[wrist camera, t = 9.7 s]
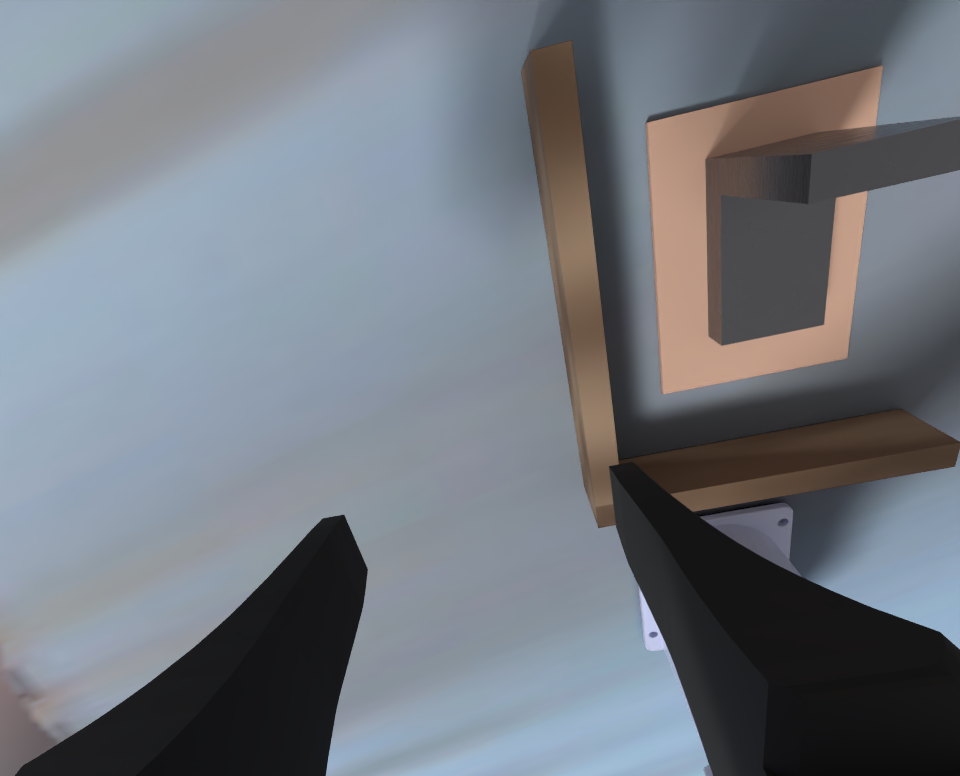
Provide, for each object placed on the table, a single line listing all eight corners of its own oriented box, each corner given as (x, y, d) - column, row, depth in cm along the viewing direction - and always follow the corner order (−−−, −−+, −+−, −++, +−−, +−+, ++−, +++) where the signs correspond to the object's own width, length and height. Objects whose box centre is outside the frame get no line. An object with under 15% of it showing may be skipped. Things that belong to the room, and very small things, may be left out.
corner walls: (896, 430, 22) (954, 466, 20) (584, 486, 24) (598, 528, 21) (984, -49, 15) (1098, -98, 12) (520, 70, 16) (530, 50, 13)
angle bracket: (705, 158, 17) (811, 154, 12) (818, 131, 17) (982, 114, 11) (708, 336, 20) (795, 398, 15) (804, 316, 20) (930, 372, 14)
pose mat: (843, 356, 21) (846, 358, 21) (661, 392, 21) (663, 394, 21) (878, 66, 16) (882, 65, 16) (645, 123, 17) (647, 122, 17)
